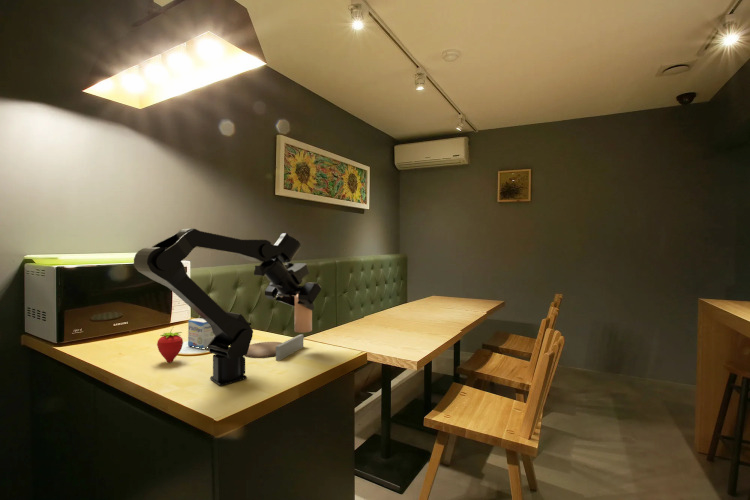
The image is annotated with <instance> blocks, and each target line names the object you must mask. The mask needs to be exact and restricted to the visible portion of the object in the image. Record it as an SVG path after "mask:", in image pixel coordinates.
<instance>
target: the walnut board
mask: <svg viewBox="0 0 750 500" xmlns="http://www.w3.org/2000/svg"><path fill="white" fill-rule="evenodd" d="M281 343H282V342H279V341H263V342H262V341H261V342H257V343H255V342H254V343H250V345H249V349H248V352H247V354H246V355H243V357H245V358H246V357H247V358H251V359H252V358H255V359H256V358H257V359H262V358H270V357H276V346H277V345H279V344H281Z"/></svg>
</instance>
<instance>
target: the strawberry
mask: <svg viewBox="0 0 750 500" xmlns="http://www.w3.org/2000/svg"><path fill="white" fill-rule="evenodd" d="M173 328H174V326H172V328H171V330H170V332H163V334H160V337H159V339H157V343H156V346H157V350H158V352H159V353H160V354H161V357H163V358H164V359H165V361H166V362H167V363H169V364H171V363H172V362H173V361H174V360H175V359H176V358H177V356H178V355H179V353H180V352H181V350H182V348H183V345H184V340H183V337H182V336H181V335H180V334H181V333H183V332H181V331H179V332H177V331H176V332H174V333H173V332H172V330H173Z"/></svg>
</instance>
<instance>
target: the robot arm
mask: <svg viewBox="0 0 750 500" xmlns="http://www.w3.org/2000/svg"><path fill="white" fill-rule="evenodd" d="M301 246H302V245H301V242H300V241H299V240H297V239H296V238H295V237H293V236H291V235H289V234H288V233H286V232H285V233H280V235H279V238H278V239H277V240H276V242H275V243H274V244H272V242H271V241H270V240H268V239H240V238H237V237H230V236H226V235H220V234H217V233H212V232H207V231H201V230H198V229H197V228H182V229H179V231H177V232H175V233H174V234H173V235H171V236H169V237H167V238H165V239H163V240H161V241H158V242H157V243H156V244H154V245H152V246H150V247H149V246H147V247H142V248H141V249H140V250H138V251H137V252H136V253H135V255H134V257H133V267H134V269H136V270H137V272H139V273H140V274H142V275H144V276H145V277H147V278H149V279H150V280H152V281H154V282H155V283H158V284H161V285H163V286H165V287H166V288H168V289H169V290H170V291H172V292H173V293H174V294H175V295H176V296H177V297H178V298H180V300H182V301H183V303H185V304H186V305H187V306H188V307H190V309H191V310H193V311H194V312H195V313H197V314H198V316H200V317H201V319H204V320H205V321H207V322H208V323H209V324H210V325H211V328H212V331H213V333H214V335H215V337H214V338H213V340H212V341H211V342H210V343H209V345H208V351H209V354H212V375H211V376H210V378H209V379H210V380H211V381H212V382H213V383H216V384H217V385H219V386H225V385H229V384H232V383H236V382H239V381H242V380H243V381H244V380H245V379H247V378H248V377H247V375H245V374H246V356H243V355H246V354H247V352H248V349H249V345H251V342H252V339H253V335H254V334H253V333H254V329H253V328H252V326H251V325H252V323H251V322H249V321H247V320H246V318H245V317H244V316H243V315H242V314H241V313H235V312H230V311H225V310H224V309H223V308H222V307H221V306H220V305H219V304H218V303H217V302H216V301H215V300H214V299H213V298H212V297H211V296H210V295H208V294H207V293H206V291H204V289H202V288H201V287H200V286H199V285H198V284H197V283H196V282H195V281H194V280H193V279H192V278H191V277H190V276H189V275H188V273H187V270H186V268H185V266H184V263H183V262H182V261H183V260H184V259H186V258H187V257H188V256H189V255H190V254H191V253H192V251H193V250H194V249H195V248H196V249H203V250H208V251H215V252H220V253H226V254H231V255H235V256H237V257H238V258H239V259H243V260H246V261H248V262H260V263H259V264H258V265H255V266H254V272H253V275H254V276H255V277H256V276H257V277H264V276H265V277H266V278H267V280H268V281H269V283H268V284H269V285H268V286H267V287H266V288H265V289H264V296H265V298H267V299H268V300H275V301H276V302H279V303H282V304H285V305H288V306H290V307H294V308H295V296H296V295H297V294H298V299H299V301H298V304H300V305H302V306H304V307H306V308H308V309H310V310H312V311H314V309H315V306H314V302H315V300H316V299H317V297H318V296H319V294H320V292H321V290H322V286H321V285H320V283H318V282H311V281H310V282H306V283H305V284H304V285H301V284H302V283H303V279H304V277H306V276H308V275H310V270H309V267H308V264H307V263H305V262H304V263H303V262H301V263H300V262H297V263H292V260H293V259H294V257H295V256H296V255H297V253H298V252H299V250H301V248H302V247H301Z"/></svg>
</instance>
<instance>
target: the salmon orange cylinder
mask: <svg viewBox="0 0 750 500" xmlns="http://www.w3.org/2000/svg"><path fill="white" fill-rule="evenodd" d="M298 301H299V299H298V294H297V295H296V296H295V307H294V332H295V333H300V334H301V333H303V334H304V333H310V332H312V331H313V310H310V309H308V308H306V307H304V306H302V305H300V304H298Z"/></svg>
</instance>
